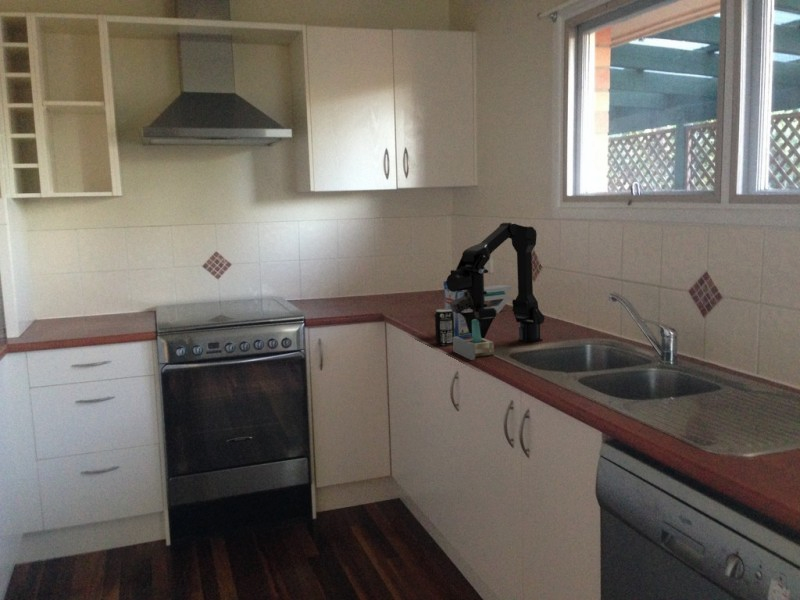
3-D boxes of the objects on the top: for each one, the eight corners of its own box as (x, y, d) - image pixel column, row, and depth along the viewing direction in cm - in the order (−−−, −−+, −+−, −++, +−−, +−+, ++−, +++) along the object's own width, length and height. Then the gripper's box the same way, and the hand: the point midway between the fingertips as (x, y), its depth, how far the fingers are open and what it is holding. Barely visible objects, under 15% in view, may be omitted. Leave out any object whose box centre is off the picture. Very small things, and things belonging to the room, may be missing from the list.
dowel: (479, 349, 238) (478, 319, 237) (483, 350, 235) (482, 320, 234) (471, 350, 237) (470, 319, 236) (474, 351, 234) (474, 321, 233)
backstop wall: (457, 351, 242) (457, 336, 241) (475, 359, 228) (474, 343, 228) (453, 351, 241) (452, 336, 240) (470, 359, 228) (470, 344, 227)
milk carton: (445, 334, 271) (443, 281, 268) (460, 332, 273) (458, 279, 270) (457, 338, 262) (456, 283, 259) (473, 336, 264) (471, 282, 261)
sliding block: (483, 349, 241) (482, 337, 241) (493, 354, 234) (493, 342, 233) (461, 352, 239) (460, 340, 238) (471, 357, 231) (470, 344, 231)
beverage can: (443, 341, 259) (442, 308, 257) (458, 342, 254) (457, 309, 253) (432, 344, 254) (430, 310, 252) (447, 346, 249) (446, 312, 248)
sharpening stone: (462, 317, 304) (461, 292, 303) (453, 315, 311) (452, 290, 310) (511, 311, 315) (511, 286, 314) (501, 308, 322) (500, 284, 321)
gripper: (441, 287, 239) (443, 333, 242) (464, 293, 222) (465, 343, 224) (471, 284, 243) (473, 330, 245) (496, 290, 225) (498, 339, 228)
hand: (476, 335), depth 235 cm, fingers open, 9 cm apart
